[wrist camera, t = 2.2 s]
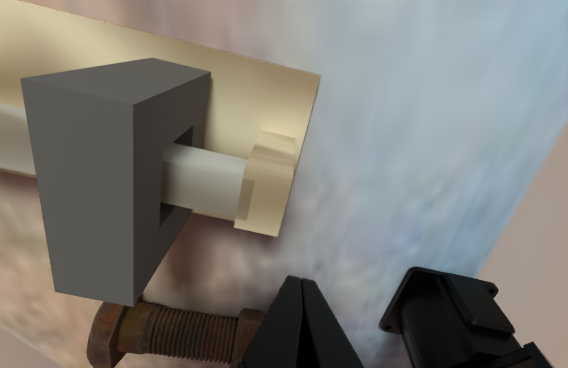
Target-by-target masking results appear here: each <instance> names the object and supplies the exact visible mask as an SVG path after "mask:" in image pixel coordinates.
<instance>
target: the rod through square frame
mask: <svg viewBox="0 0 568 368" xmlns="http://www.w3.org/2000/svg"><path fill="white" fill-rule="evenodd" d="M146 58H156V59H161V60H165V61H169V62H173V63H177V64H181V65H185V66H189V67H193V68H198V69H202V70H206V71H210V72H211V78H210V87H209V96H208V105H207V115H206V124H205V133H204V142H203V149H198V148H194V147H190V146H185V145H181V144H176V143H172V144H170V145H169V146H168V147H167V148H166V149H165V150H163V158H162V180H161V201H160V202H162V203H167V204H171V205H176V206H181V207H185V208H190V209H193V211H192V212H193V213H198V214H202V215H207V216H211V217H216V218H221V219H225V220H230V221H235V224H234V228H238V229H243V230H248V231H252V232H257V233H262V234H266V235H271V236H276V237H278V233H279V230H280V226H281V222H282V219H283V215H284V211H285V207H286V204H287V200H288V196H289V193H290V189H291V185H292V181H293V178H294V174H295V170H296V166H297V163H298V159H299V155H300V152H301V148H302V144H303V140H304V137H305V133H306V129H307V125H308V122H309V118H310V114H311V110H312V107H313V103H314V99H315V96H316V92H317V88H318V84H319V81H320V77H321V76H320V75H317V74H313V73H309V72H305V71H301V70H297V69H293V68H289V67H285V66H281V65H277V64H273V63H269V62H265V61H261V60H257V59H253V58H249V57H245V56H241V55H237V54H233V53H229V52H225V51H221V50H217V49H212V48H208V47H204V46H200V45H196V44H192V43H188V42H184V41H180V40H176V39H172V38H168V37H164V36H160V35H156V34H152V33H148V32H144V31H140V30H136V29H132V28H128V27H124V26H120V25H116V24H112V23H108V22H104V21H100V20H96V19H91V18H87V17H83V16H79V15H75V14H71V13H67V12H63V11H59V10H55V9H51V8H47V7H43V6H39V5H35V4H31V3H27V2H23V1H19V0H0V171H3V172H8V173H12V174H17V175H22V176H26V177H31V178H36V172H35V166H34V160H33V154H32V148H31V142H30V136H29V130H28V124H27V118H26V111H25V105H24V99H23V93H22V87H21V81H20V78H25V77H32V76H38V75H44V74H51V73H57V72H63V71H70V70H76V69H83V68H89V67H95V66H102V65H108V64H114V63H121V62H127V61H133V60H140V59H146ZM36 179H37V178H36Z"/></svg>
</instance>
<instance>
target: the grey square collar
mask: <svg viewBox="0 0 568 368" xmlns="http://www.w3.org/2000/svg"><path fill="white" fill-rule="evenodd" d="M210 78H211V72H210V71H206V70H202V69H198V68H193V67H189V66H185V65H181V64H177V63H173V62H169V61H165V60H161V59H156V58H146V59H140V60H133V61H127V62H121V63H114V64H108V65H102V66H95V67H89V68H83V69H76V70H70V71H63V72H57V73H51V74H44V75H38V76H32V77H25V78H20V81H21V87H22V93H23V99H24V105H25V111H26V118H27V124H28V130H29V136H30V142H31V148H32V154H33V160H34V166H35V172H36V178H37V184H38V191H39V197H40V203H41V209H42V215H43V221H44V227H45V233H46V239H47V245H48V251H49V257H50V264H51V270H52V276H53V282H54V288H55V292H59V293H64V294H69V295H74V296H80V297H85V298H90V299H95V300H100V301H105V302H110V303H115V304H120V305H125V306H131V307H134V305H135V304H136V302H137V300H138V299H139V297H140V296H141V294H142V292H143V291H144V289H145V287H146V286H147V284H148V282H149V281H150V279H151V278H152V276H153V274H154V273H155V271H156V269H157V268H158V266H159V264H160V263H161V261H162V260H163V258H164V256H165V255H166V253H167V251H168V250H169V248H170V246H171V245H172V243H173V242H174V240H175V238H176V237H177V235H178V233H179V232H180V230H181V228H182V227H183V225H184V224H185V222H186V220H187V219H188V217H189V215H190V214H191V212H192V211H193V209H190V208H185V207H181V206H176V205H171V204H167V203H162V202H160V201H161V180H162V158H163V150H165V149H166V148H167V147H168V146H169V145H170V144H172V143H176V144H181V145H185V146H190V147H194V148H198V149H203V142H204V133H205V124H206V115H207V105H208V96H209V87H210Z"/></svg>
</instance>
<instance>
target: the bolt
mask: <svg viewBox="0 0 568 368" xmlns="http://www.w3.org/2000/svg"><path fill="white" fill-rule="evenodd" d="M263 318H264V315H263V313H262V312H261V311H260V310H254V309H247V308H244V309H243V310H241V311H240V314H239V319H238V320H236V318H234V319H233V320H232V318H231V317H230V318H229V319H228V318H227V316H226V317H225V318H223V316H221V317H220V318H219V316H218V315H217V316H216V317H215V316H214V314H213V316H212V317H211V315H210V314H209V315H208V316H207V315H206V313H205V314H204V315H202V313H200V314H199V315H198V313H197V312H195V314H194V313H193V311H191V312H190V314H189V311H186V313H185V311H184V310H182V312H181V311H180V309H178V310H177V311H176V309H173V310H172V309H171V308H169V309H167V307H165V308H163V307H160V306H158V305H155V304H148V303H142V302H141V296H140V297H139V299H138V300H137V302H136V304H135V305H134V307H131V306H125V305H120V304H115V303H110V302H105V301H104V302H103V303H102V305H101V307H100V308H99V310H98V312H97V314H96V316H95V318H94V321H93V324H92V328H91V331H90V335H89V339H88V345H87V358H88V360H89V362H90V364H91V365H92V366H93V367H94V368H114V367H115V366H116V365H117V364H118V362H119V361H120V360H121V359H122V358H123V357H124V355H125V354H126V353H135V354H144V353H149V354H152V353H153V354H159V355H164V356H165V355H167V356H168V357H170V356H171V355H172V357H175V356H176V355H177V358H179V357H182V358H185V357H186V358H187V359H189V358H190V357H191V360H193V359H194V358H195V359H196V360H198V359H199V358H200V360H201V361H202V360H203V359H205V361H207V360H208V359H209V360H210V362H211V361H212V360H213V359H214V362H216V361H217V360H218V361H219V363H220V362H222V361H223V363H224V364H225V363H226V362H227V363H228V365H229V364H230V363H231V364H230V368H236V366H237V365H238V363H239V362H240V360H241V358H242V356H243V354H244V352H245V351H246V349H247V347H248V345H249V343H250V342H251V340H252V338H253V336H254V335H255V333H256V331H257V329H258V327H259V326H260V324H261V322H262V320H263Z"/></svg>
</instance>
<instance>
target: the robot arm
mask: <svg viewBox="0 0 568 368" xmlns="http://www.w3.org/2000/svg"><path fill="white" fill-rule="evenodd" d="M417 273H419V274H417ZM415 274H417V275H415ZM497 293H498V288H497V287H496V286H495V284H494V283H491V282H487V281H482V280H479V279H475V278H470V277H465V276H461V275H456V274H451V273H445V272H440V271H436V270H431V269H426V268H422V267H413V268H411V269H410V270H409V272H408V274H407V275H406V277H405V279H404V281H403V283H402V285H401V286H400V288H399V290H398V292H397V294H396V295H395V297H394V299H393V301H392V303H391V305H390V306H389V308H388V310H387V312H386V314H385V316H384V317H383V319H382V321H381V327H382V330H383V331H385V332H390V333H395V334H400V335H402V338H403V341H404V344H405V347H406V350H407V353H408V356H409V359H410V362H411V365H412V368H554V366H553V365H552V364H551V363H550V362H549V360H548V359H547V358H546V357H545V355H544V354H543V353H542V352H541V351H540V349H538V347H537V346H536V345H535V343H534V342H530V343H528V344H525V345H523V346H524V347H523V348H522V347H521V346H520V344H519V343H518V342H517V340H516V339H515V337H514V336H513V334H514V333H515V329H514V327H513V325H512V324H511V323H510V321H509V320H508V319H507V317H506V316H505V314H504V313H503V312H502V310H501V309H500V308H499V306H498V305H497V303H496V302H495V301H494V299H493V298H494V297H495V296H496V294H497ZM236 368H364V366H363V364H362V363H361V361H360V359H359V357H358V356H357V354H356V352H355V350H354V349H353V347H352V345H351V343H350V342H349V340H348V338H347V336H346V335H345V333H344V331H343V329H342V328H341V326H340V324H339V323H338V321H337V319H336V317H335V316H334V314H333V312H332V310H331V309H330V307H329V305H328V303H327V302H326V300H325V298H324V296H323V295H322V293H321V291H320V289H319V288H318V286H317V284H316V282H315V281H314V280H310V279H305V278H302V279H300V278H299V277H296V276H291V275H288V276H287V277H286V279H285V281H284V283H283V285H282V286H281V288H280V290H279V292H278V293H277V295H276V297H275V299H274V301H273V302H272V304H271V306H270V308H269V310H268V311H267V313H266V315H265V317H264V318H263V320H262V322H261V324H260V326H259V327H258V329H257V331H256V333H255V335H254V336H253V338H252V340H251V342H250V343H249V345H248V347H247V349H246V351H245V352H244V354H243V356H242V358H241V360H240V362H239V363H238V365H237V366H236Z"/></svg>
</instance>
